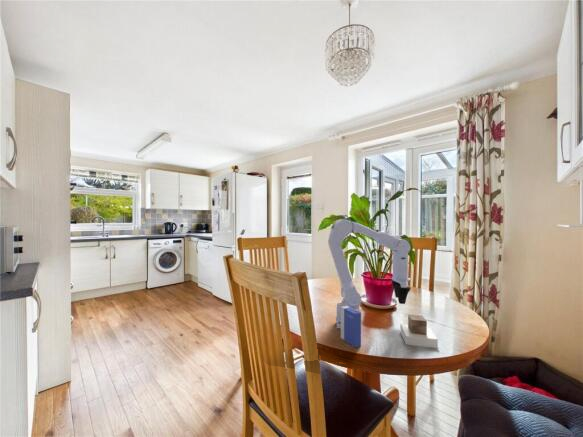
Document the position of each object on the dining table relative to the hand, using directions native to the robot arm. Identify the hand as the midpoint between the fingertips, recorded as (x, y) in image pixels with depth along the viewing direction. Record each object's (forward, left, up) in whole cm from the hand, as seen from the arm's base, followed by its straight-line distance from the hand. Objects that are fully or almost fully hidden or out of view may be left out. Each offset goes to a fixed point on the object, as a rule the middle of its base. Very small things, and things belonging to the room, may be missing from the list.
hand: (400, 300), depth 101 cm
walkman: (-20, -19, -11) cm, 29 cm away
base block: (+4, -11, -10) cm, 16 cm away
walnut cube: (+4, -11, -7) cm, 14 cm away
